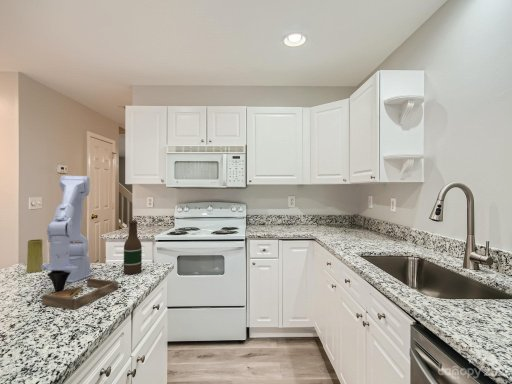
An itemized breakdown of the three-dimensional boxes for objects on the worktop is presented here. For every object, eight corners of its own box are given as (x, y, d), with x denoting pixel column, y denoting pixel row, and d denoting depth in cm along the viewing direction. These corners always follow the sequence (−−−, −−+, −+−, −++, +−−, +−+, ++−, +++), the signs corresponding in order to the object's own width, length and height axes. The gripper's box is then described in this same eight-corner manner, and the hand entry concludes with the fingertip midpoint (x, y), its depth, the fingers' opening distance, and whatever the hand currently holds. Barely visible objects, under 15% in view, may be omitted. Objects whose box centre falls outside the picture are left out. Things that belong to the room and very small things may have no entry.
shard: (83, 289, 101) (83, 284, 101) (91, 294, 96) (91, 289, 96) (48, 298, 92) (48, 293, 92) (55, 304, 88) (56, 298, 88)
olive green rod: (35, 268, 125) (35, 238, 125) (46, 269, 124) (47, 239, 124) (22, 272, 119) (22, 241, 119) (34, 273, 118) (34, 241, 118)
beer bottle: (136, 269, 126) (136, 219, 126) (145, 272, 122) (145, 220, 122) (119, 273, 120) (120, 220, 120) (128, 276, 115) (129, 222, 115)
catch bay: (89, 285, 103) (89, 278, 103) (117, 289, 100) (118, 281, 100) (42, 304, 86) (42, 295, 86) (75, 309, 83) (75, 300, 83)
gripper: (32, 254, 93) (32, 292, 93) (65, 257, 90) (64, 297, 90) (52, 250, 100) (52, 286, 100) (83, 253, 97) (82, 289, 97)
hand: (59, 290), depth 96 cm, fingers closed
